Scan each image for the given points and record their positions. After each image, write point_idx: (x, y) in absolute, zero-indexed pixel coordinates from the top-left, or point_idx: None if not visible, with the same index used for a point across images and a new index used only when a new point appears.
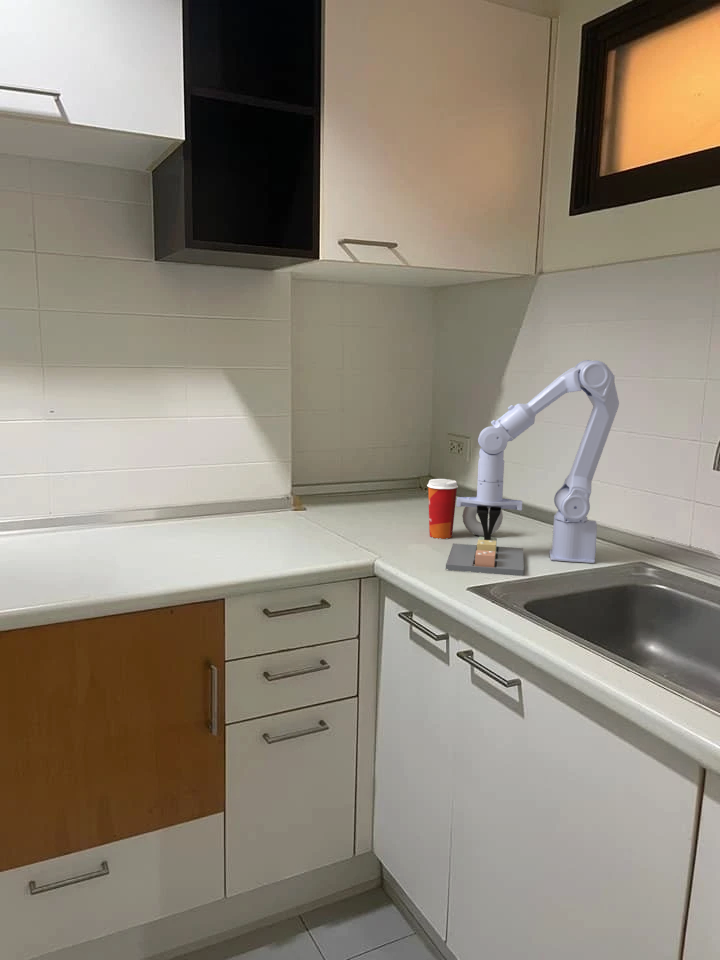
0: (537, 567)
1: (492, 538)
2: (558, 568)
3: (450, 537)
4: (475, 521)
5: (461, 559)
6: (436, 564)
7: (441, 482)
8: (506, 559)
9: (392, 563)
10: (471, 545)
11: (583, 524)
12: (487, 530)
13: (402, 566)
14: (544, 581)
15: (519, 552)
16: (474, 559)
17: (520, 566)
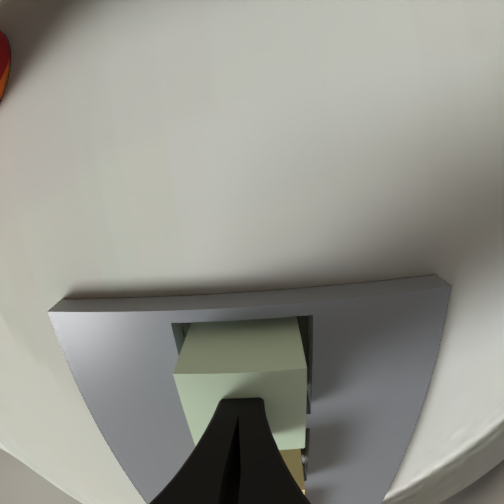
0: (440, 431)
1: (275, 392)
2: (494, 408)
3: (4, 84)
4: None
5: None
6: (114, 477)
7: None
8: (342, 469)
9: (31, 463)
10: (141, 327)
11: None
12: (239, 475)
13: (60, 481)
14: (415, 498)
15: (417, 372)
16: None
17: (377, 495)
